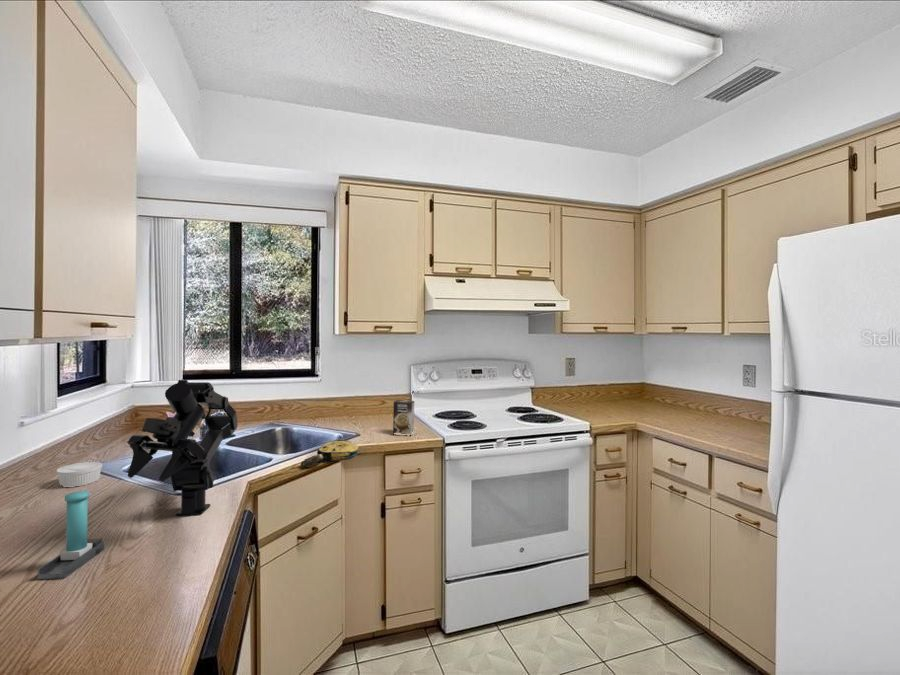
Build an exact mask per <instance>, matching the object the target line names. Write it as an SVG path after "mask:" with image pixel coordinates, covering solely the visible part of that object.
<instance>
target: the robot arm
mask: <svg viewBox="0 0 900 675" xmlns="http://www.w3.org/2000/svg"><path fill="white" fill-rule="evenodd" d="M214 388H215V387H214V386H213V385H212V383H211V382H208V381H206V382H203V381H201V382H200V381H199V382H196V381H195V382H193V381H192V382H189V381H188V380H187V379H178V381H177V383H175V384H172V385H170V386H169V387H168V388H167V389H165V393H164V396H165V398H166V400H167V402H168V404H169V406H170V408H171V409H172V411H173V412H174V413H175V412H176V414H175V415H174V417H168V416H167V417H166V418H165V419H162V418H161V419H160V418H154V417H146V418H145V421H144V422H143V425H142V428H141V429H140V430H141V432H143V433H144V432H147V433H150V434H152V435H151V436H152V437H153V438H151V437H150V436H149V435H145V434H134V435H133V434H132V436H131V437H130V438H129V439H128V440H127V444H128V445H129V449H131V450H132V459H131V462H130V467H129V470H128V472H127V477H128V478H129V479H131V478H133V477H135V476H136V475H137V474H138V473H139V472H140V471H141V470H143V468H144V467H145V466H146V465H147V464H149V463H150V461H151V460H153V458H154V457H153V455H155V454H157V452H158V451H163V452H171V458H170V460H169V461H168V463H167V464H166V466H165V467H164V469H163V471H162V472H161V474H160V476H159V478H158V481H159V482H161V483H162V482H164V481H166V480H167V479H169V478H170V479H171V485H172V491H173V492H177V491H178V492H179V491H180V494H181V496H180V497H181V503H180V504H181V505H180V506H181V508H180V509H179V510H178V511H176V512H175V516H197V515H198V516H200V515H202V514H203V513H204V512H205V511H206V510H208V509H209V508H210V507H211V503H206V495H207V494H206V493H207V492H206V491H208V490H209V489H212V488H213V487H214V482H215V480H214V479H215V477H214V474H213V472H212V469H211V468H210V462H211V460H212V458H213V457H214V455H215V453H216V451H217V450H218V449H219V447H220V445H221V443H222V441H223V440H224V439H227V438H229V437H231V436H232V435H233V434H234V433H235V431H236V430H237V428H238V416H237V411H236V410H235V409H234V407H232V406H231V404H230V402H229V398H228V397H227V396H223V395H221V394H220V393H218V392H216V391H215V389H214ZM203 406H204V407H206V408H208V411H207V413H206V412H205V411H206V409H205V408H203ZM213 410H223V411H224V413H225V414H226V415H225V414H224V415H221V414H220V415H211V411H213ZM200 420H204V424H205V427H206V430H207V432H206V433H205V435H204V437H203V438H202V439H201V441H200V442H198V441H197V440H195V439H193V438H192V439H191V437H194V436H195V432H194V429H195V428H196V426H197V425H198V423H199V422H200ZM189 437H190V438H189ZM153 439H156V441H154V440H153Z"/></svg>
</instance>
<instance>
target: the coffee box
mask: <svg viewBox="0 0 900 675" xmlns="http://www.w3.org/2000/svg"><path fill="white" fill-rule="evenodd" d="M414 419H415V401H414V400H399V399H398V400H394V401H393V418H392V420H393V422H392V434H393V433H401V434H411V433H412V432H413V431H415V430H414V429H415V428H414V426H415V425H414V424H415V423H414V422H415V421H414Z"/></svg>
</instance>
